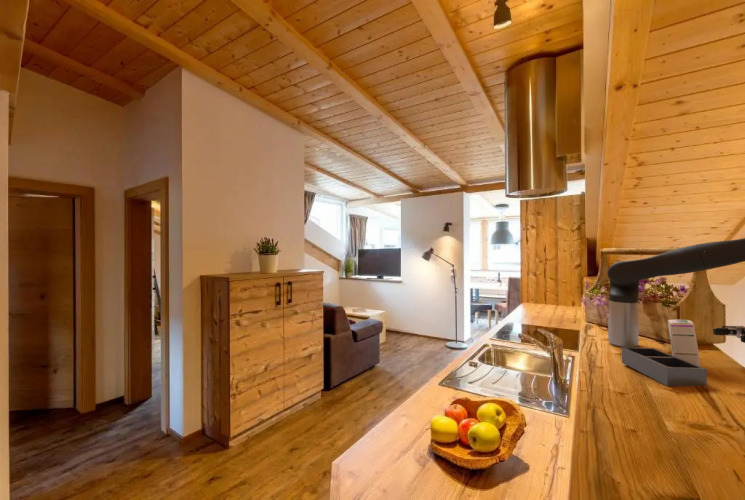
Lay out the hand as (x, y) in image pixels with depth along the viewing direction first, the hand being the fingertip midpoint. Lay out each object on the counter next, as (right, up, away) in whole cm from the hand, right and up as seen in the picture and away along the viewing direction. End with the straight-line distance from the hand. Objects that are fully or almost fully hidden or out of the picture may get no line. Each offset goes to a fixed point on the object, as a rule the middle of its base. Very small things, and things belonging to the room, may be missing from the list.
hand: (727, 334), depth 98 cm
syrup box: (-11, -11, +1) cm, 16 cm away
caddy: (-23, -11, -3) cm, 26 cm away
